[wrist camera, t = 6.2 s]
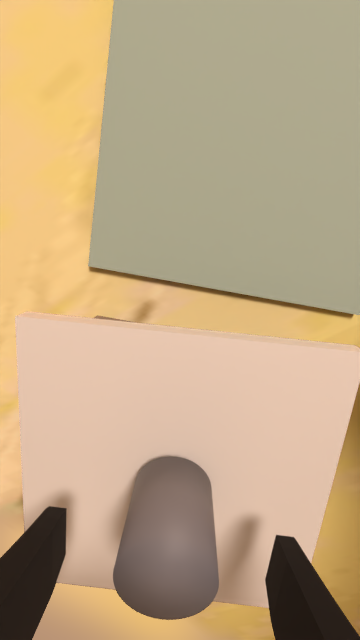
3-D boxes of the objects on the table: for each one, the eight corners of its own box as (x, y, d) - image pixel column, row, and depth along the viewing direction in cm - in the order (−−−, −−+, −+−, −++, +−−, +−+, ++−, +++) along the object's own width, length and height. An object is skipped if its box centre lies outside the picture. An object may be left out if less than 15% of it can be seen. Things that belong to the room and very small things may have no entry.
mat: (465, -19, 12) (474, -28, 11) (355, 313, 15) (359, 315, 15) (125, -81, 12) (122, -92, 11) (90, 265, 15) (88, 266, 15)
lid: (354, 345, 11) (461, 407, 7) (292, 591, 14) (336, 743, 10) (27, 311, 11) (-77, 350, 7) (35, 560, 14) (-33, 696, 10)
